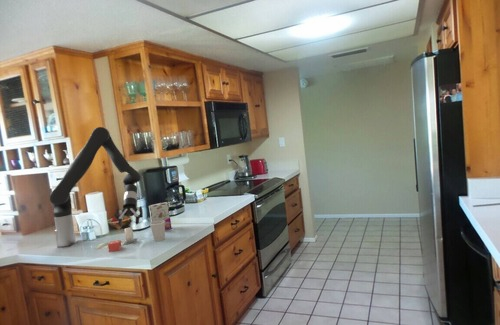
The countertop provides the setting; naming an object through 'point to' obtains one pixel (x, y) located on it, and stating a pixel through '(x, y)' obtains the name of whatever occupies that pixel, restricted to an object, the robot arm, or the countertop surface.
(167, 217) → the candy bar box
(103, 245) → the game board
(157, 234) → the dixie cup
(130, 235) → the pawn
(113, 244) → the red die
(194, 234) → the countertop surface
